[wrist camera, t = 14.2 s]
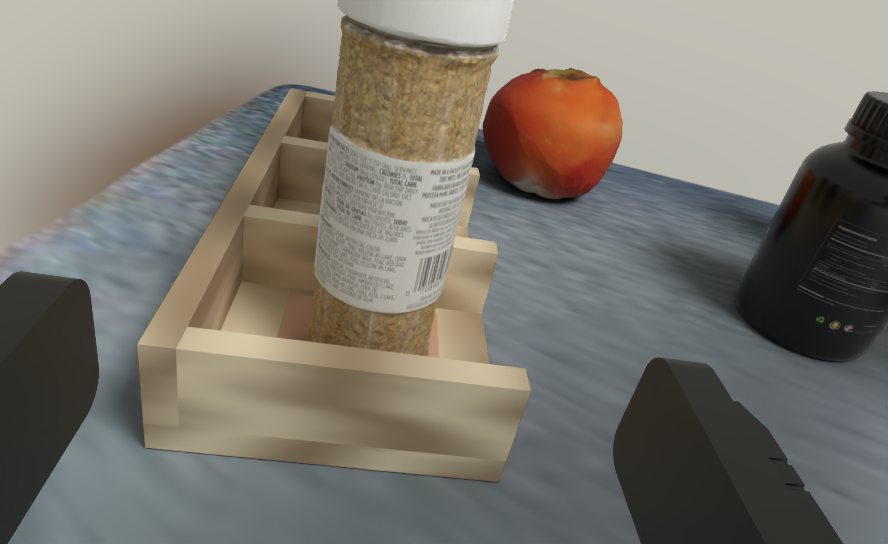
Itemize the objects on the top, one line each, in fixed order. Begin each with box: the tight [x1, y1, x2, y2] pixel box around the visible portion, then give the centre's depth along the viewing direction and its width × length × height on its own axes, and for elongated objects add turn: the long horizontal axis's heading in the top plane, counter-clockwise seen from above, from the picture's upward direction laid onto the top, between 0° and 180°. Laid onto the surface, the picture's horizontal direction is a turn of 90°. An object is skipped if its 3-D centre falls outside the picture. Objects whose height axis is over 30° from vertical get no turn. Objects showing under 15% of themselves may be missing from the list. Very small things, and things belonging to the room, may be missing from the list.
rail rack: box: [137, 88, 531, 482], centre depth 27 cm, size 11×25×13 cm, turn 3°
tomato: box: [483, 68, 623, 199], centre depth 42 cm, size 9×9×8 cm
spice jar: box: [306, 0, 514, 356], centre depth 19 cm, size 5×5×13 cm
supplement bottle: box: [736, 91, 888, 361], centre depth 30 cm, size 7×7×12 cm
